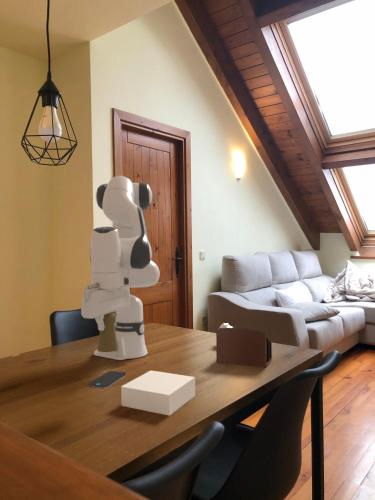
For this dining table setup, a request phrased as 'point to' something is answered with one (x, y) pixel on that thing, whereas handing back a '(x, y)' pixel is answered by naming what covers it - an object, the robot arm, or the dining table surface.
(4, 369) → the dining table surface
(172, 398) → the white block
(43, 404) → the dining table surface
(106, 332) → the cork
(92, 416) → the dining table surface
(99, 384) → the smartphone
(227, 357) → the letter holder
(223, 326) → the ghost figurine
